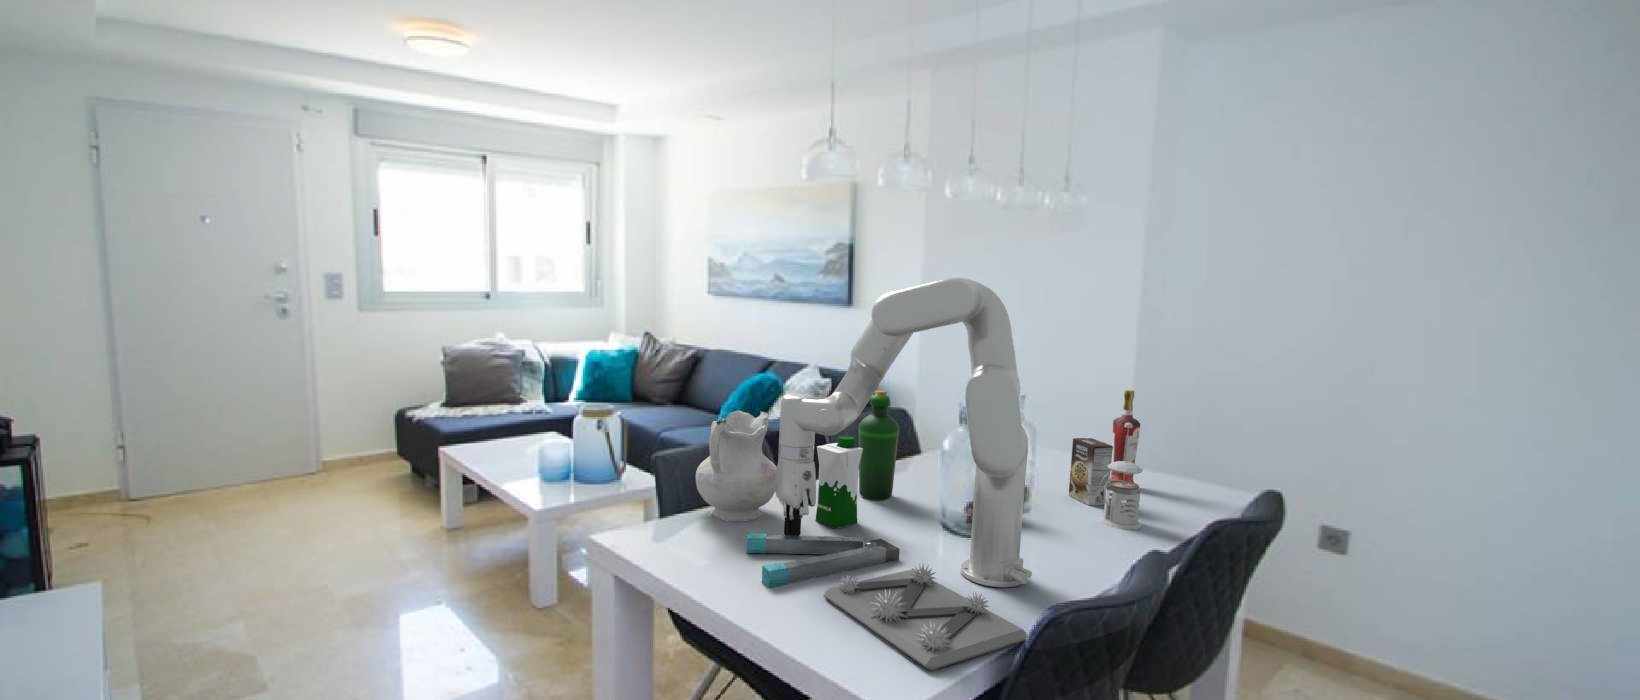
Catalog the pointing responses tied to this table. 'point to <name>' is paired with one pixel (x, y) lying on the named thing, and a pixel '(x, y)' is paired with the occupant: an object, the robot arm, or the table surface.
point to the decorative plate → (925, 617)
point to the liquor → (1125, 437)
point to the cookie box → (1089, 470)
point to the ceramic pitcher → (737, 468)
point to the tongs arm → (803, 544)
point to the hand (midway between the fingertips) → (792, 535)
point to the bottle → (878, 449)
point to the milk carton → (838, 482)
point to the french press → (1122, 496)
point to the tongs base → (828, 564)
